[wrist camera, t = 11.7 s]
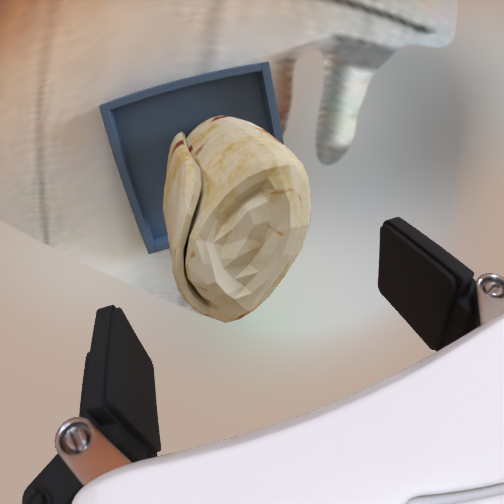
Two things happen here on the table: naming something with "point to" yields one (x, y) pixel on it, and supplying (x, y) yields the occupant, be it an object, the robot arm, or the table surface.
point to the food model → (233, 215)
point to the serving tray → (179, 131)
